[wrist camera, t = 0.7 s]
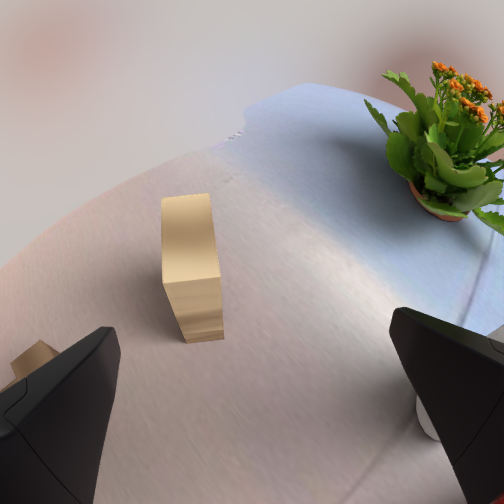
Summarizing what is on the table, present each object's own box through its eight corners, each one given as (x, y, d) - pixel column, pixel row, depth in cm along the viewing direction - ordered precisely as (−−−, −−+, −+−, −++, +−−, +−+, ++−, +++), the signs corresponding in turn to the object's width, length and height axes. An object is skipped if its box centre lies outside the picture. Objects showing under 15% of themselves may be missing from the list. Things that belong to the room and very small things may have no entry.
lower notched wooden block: (65, 357, 22) (40, 339, 18) (76, 375, 21) (50, 361, 17) (-15, 419, 17) (-46, 410, 13) (-7, 438, 16) (-38, 431, 12)
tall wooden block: (224, 339, 24) (220, 276, 16) (186, 343, 24) (162, 283, 16) (214, 274, 27) (209, 192, 19) (180, 278, 27) (161, 198, 19)
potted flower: (524, 248, 32) (590, 166, 18) (439, 314, 26) (558, 193, 12) (429, 136, 45) (464, 52, 31) (320, 149, 39) (349, 25, 24)
